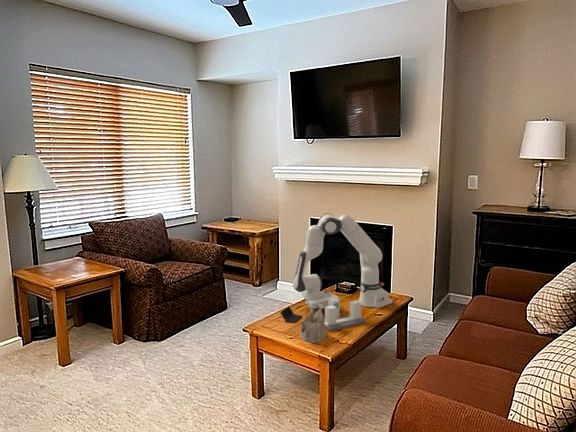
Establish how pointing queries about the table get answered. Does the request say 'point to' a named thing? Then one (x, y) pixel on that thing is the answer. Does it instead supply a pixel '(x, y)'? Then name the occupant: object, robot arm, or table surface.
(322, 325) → the stone castle model
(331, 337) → the table surface
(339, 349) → the table surface
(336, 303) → the block
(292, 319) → the handheld gaming console
